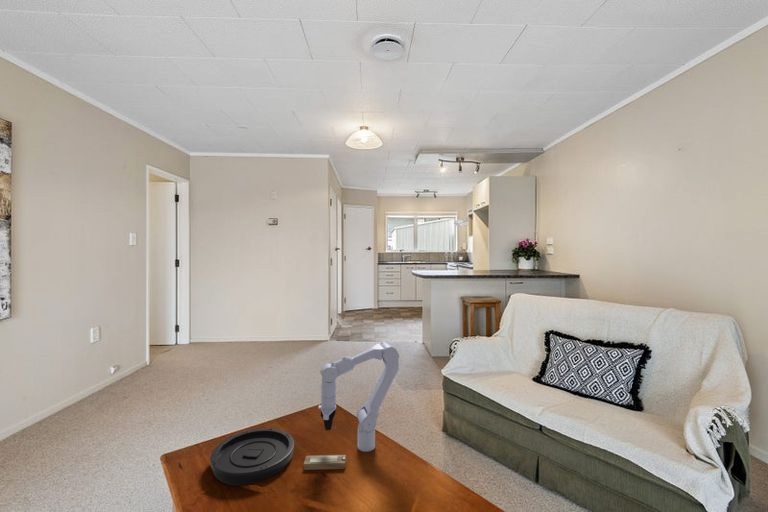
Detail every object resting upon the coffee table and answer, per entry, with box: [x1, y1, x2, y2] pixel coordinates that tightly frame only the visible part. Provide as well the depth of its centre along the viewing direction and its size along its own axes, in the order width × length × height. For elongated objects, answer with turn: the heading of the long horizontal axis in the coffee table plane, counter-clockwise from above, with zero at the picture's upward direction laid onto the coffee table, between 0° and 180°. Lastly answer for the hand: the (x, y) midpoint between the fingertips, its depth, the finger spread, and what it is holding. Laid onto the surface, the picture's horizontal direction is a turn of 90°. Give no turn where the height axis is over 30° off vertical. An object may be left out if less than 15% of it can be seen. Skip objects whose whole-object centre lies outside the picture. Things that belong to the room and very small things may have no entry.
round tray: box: [209, 428, 295, 487], centre depth 131 cm, size 30×6×30 cm
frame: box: [303, 454, 347, 471], centre depth 128 cm, size 5×15×3 cm, turn 93°
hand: (328, 429), depth 136 cm, fingers closed
